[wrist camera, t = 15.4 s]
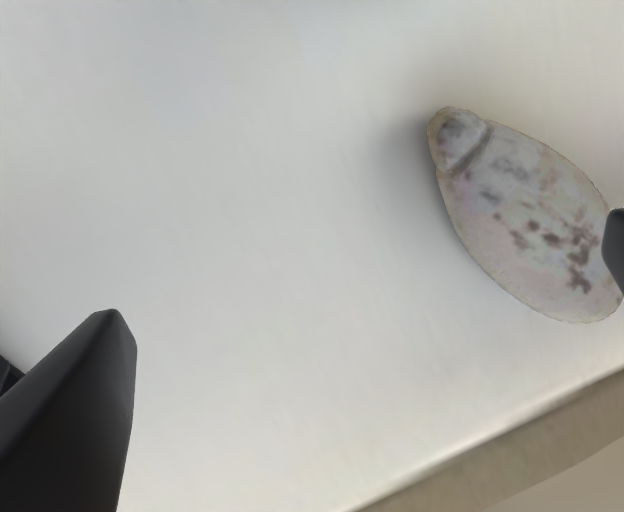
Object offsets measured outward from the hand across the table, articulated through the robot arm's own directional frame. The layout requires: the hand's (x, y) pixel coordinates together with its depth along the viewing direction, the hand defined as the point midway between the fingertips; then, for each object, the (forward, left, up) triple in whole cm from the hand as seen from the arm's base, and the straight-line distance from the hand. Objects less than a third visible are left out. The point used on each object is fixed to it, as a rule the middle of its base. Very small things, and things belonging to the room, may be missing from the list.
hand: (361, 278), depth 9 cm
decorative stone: (+8, -11, -12) cm, 19 cm away
